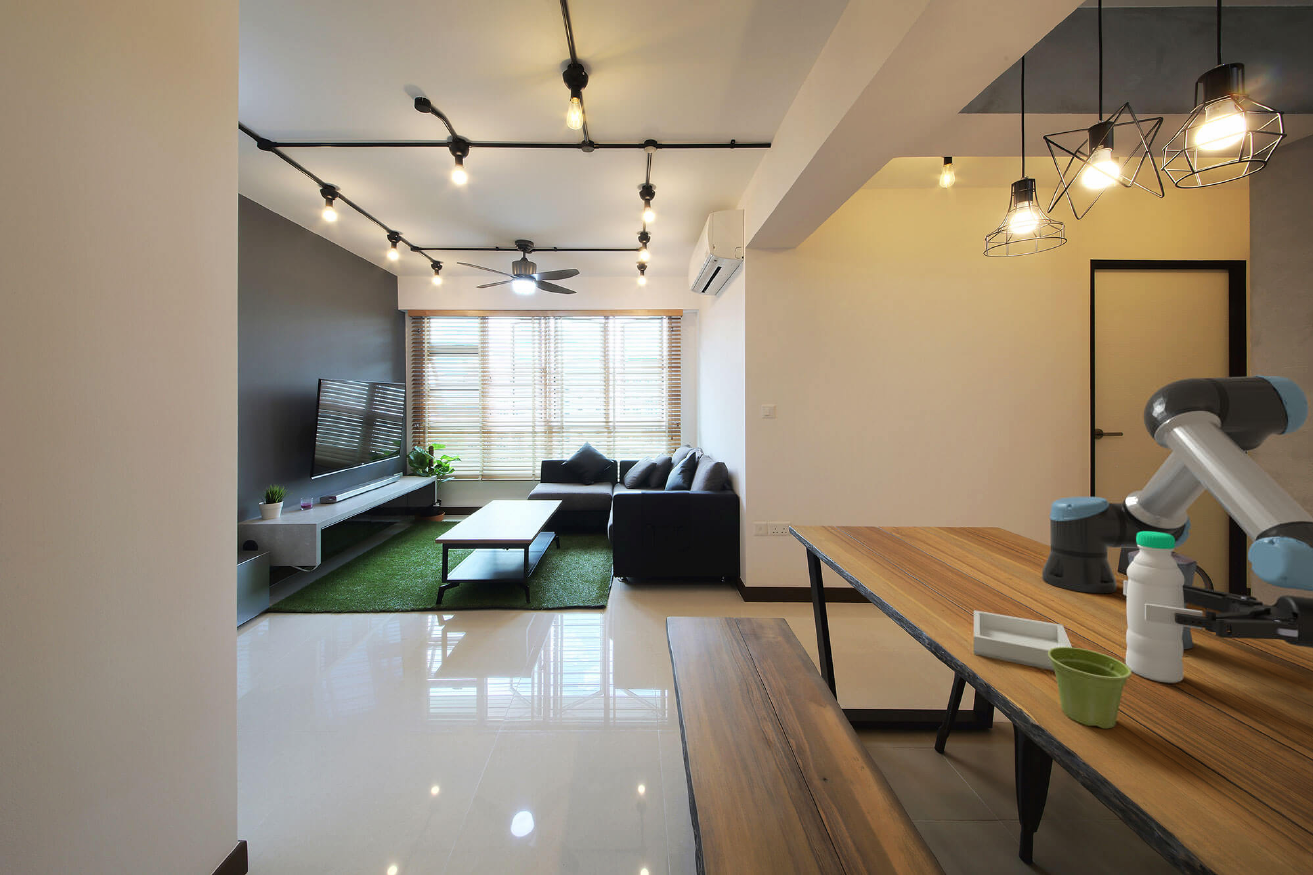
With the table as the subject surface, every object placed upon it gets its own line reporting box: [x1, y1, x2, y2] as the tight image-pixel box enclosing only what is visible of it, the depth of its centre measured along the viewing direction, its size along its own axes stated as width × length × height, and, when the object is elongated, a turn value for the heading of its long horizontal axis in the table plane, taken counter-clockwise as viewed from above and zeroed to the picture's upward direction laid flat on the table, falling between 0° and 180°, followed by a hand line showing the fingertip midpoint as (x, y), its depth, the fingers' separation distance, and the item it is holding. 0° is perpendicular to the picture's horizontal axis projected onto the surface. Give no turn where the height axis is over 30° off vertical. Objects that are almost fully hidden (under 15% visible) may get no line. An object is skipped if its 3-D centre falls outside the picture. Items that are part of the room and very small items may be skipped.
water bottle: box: [1125, 531, 1185, 684], centre depth 85 cm, size 7×7×25 cm
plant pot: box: [1048, 646, 1132, 729], centre depth 73 cm, size 9×9×9 cm
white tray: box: [973, 610, 1073, 672], centre depth 96 cm, size 15×15×4 cm
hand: (1133, 598), depth 86 cm, fingers open, 13 cm apart
